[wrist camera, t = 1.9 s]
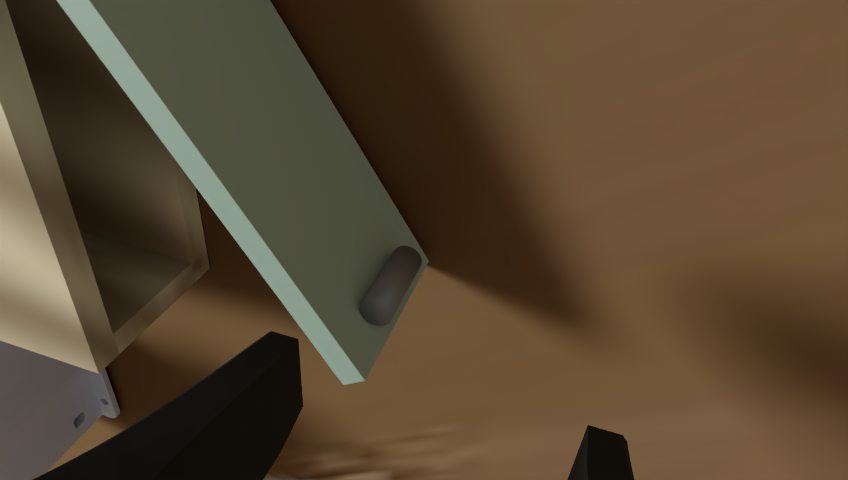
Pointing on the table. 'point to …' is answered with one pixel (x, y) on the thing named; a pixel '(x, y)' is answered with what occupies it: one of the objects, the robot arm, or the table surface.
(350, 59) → the table surface
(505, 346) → the table surface
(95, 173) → the cabinet
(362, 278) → the door
